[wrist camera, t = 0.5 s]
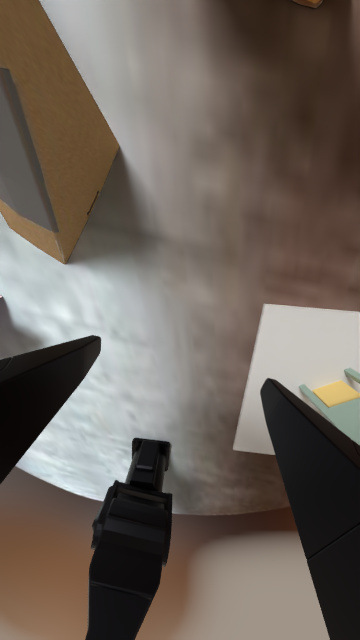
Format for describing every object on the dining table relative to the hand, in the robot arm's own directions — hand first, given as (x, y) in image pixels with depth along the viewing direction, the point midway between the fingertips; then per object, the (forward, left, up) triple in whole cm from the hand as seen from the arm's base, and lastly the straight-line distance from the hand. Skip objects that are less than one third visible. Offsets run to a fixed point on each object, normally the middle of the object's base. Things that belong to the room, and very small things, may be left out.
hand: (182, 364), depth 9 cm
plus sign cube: (-11, -22, -14) cm, 28 cm away
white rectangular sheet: (-11, -20, -15) cm, 27 cm away
